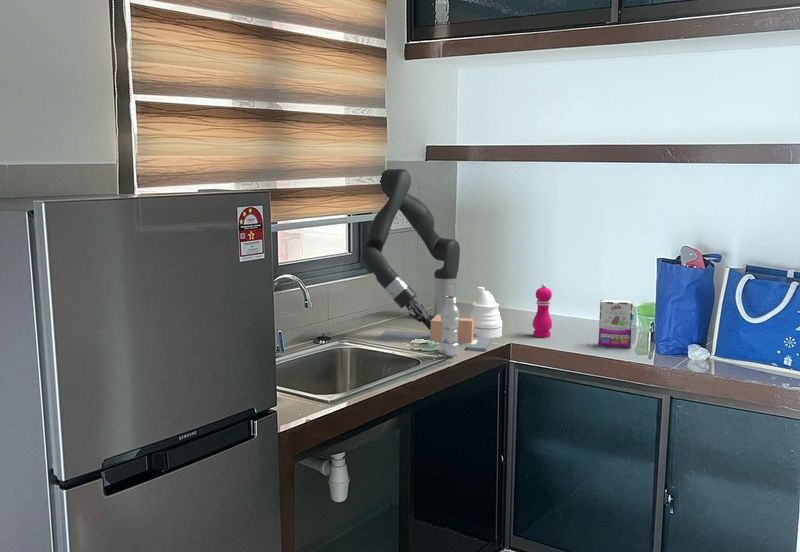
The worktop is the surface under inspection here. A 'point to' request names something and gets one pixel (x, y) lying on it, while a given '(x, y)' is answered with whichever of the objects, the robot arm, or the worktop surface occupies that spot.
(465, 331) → the t block
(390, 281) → the robot arm
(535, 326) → the pepper mill
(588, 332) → the worktop surface
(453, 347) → the plastic bottle
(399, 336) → the board
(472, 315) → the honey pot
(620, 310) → the candy bar box
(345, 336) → the worktop surface
